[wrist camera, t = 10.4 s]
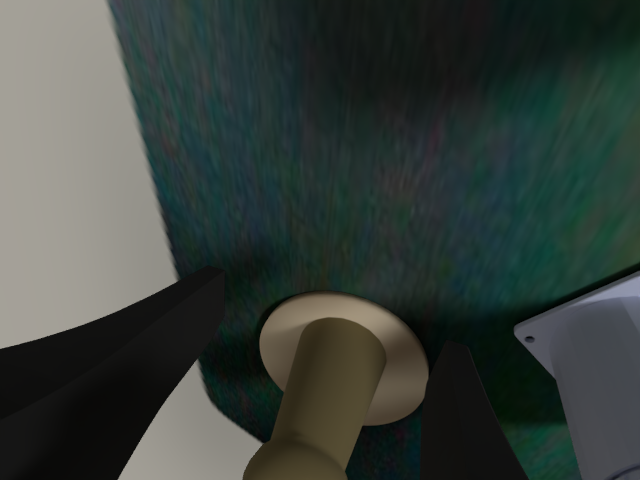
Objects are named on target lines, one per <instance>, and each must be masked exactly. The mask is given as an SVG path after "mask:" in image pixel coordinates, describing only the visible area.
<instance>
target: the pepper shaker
mask: <svg viewBox="0 0 640 480" xmlns="http://www.w3.org/2000/svg"><path fill="white" fill-rule="evenodd" d="M386 362H387V359H386V351H385V349H384V347H383V345H382V343H381V342H380V340H379V339H378V338H377V337H376V336H375V335H374V334H373V333H372V332H371V331H370V330H369V329H367V328H365V327H364V326H362V325H360V324H359V323H357V322H354V321H351V320H347V319H344V318H335V317H326V318H322V319H317V320H315V321H313V322H311V323H310V324H308V325H307V326H306V327H305V329H304V330H303V332H302V333H301V336H300V339H299V343H298V346H297V350H296V353H295V357H294V360H293V364H292V367H291V371H290V374H289V378H288V381H287V385H286V388H285V392H284V395H283V399H282V402H281V406H280V409H279V412H278V416H277V419H276V423H275V426H274V430H273V433H272V437H271V440H270V441H268V442H266V443H265V444H263V445H262V446H261V447H260V448H259V450H258V451H257V452H256V453H255V455H254V456H253V457H252V458H251V460H250V461H249V463H248V465H247V467H246V470H245V472H244V475H243V480H347V476H346V474H345V469H346V466H347V463H348V461H349V458H350V456H351V453H352V451H353V448H354V446H355V443H356V440H357V438H358V435H359V433H360V430H361V428H362V425H363V422H364V420H365V417H366V415H367V412H368V410H369V407H370V405H371V402H372V399H373V397H374V394H375V392H376V389H377V387H378V384H379V381H380V379H381V376H382V374H383V371H384V368H385V365H386Z"/></svg>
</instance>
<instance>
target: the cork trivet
mask: <svg viewBox="0 0 640 480" xmlns="http://www.w3.org/2000/svg"><path fill="white" fill-rule="evenodd" d="M326 317H335V318H344V319H347V320H351V321H354V322H357V323H359V324H360V325H362V326H364V327H365V328H367V329H369V330H370V331H371V332H372V333H373V334H374V335H375V336H376V337H377V338H378V339H379V340H380V342H381V343H382V345H383V347H384V349H385V351H386V359H387V362H386V365H385V368H384V371H383V374H382V376H381V379H380V381H379V384H378V387H377V389H376V392H375V394H374V397H373V399H372V402H371V405H370V407H369V410H368V412H367V415H366V417H365V420H364V422H363V425H367V426H370V425H381V424H387V423H391V422H394V421H397V420H399V419H402V418H404V417H406V416H407V415H409V414H410V413H412V412H413V411H414V410H415V409H416V408H417V407H418V406H419V405H420V403H421V402H422V400H423V398H424V395H425V389H426V383H427V381H428V375H429V366H428V359H427V356H426V353H425V350H424V348H423V346H422V344H421V342H420V341H419V339H418V338H417V336H416V335H415V333H414V332H413V331H412V330H411V329H410V328H409V326H408V325H407V324H406V323H404V322H403V321H402V320H401V319H400V318H399V317H398V316H396V315H395V314H393V313H392V312H391V311H389V310H388V309H386V308H384V307H382V306H381V305H379V304H377V303H375V302H372V301H370V300H368V299H365V298H362V297H359V296H356V295H353V294H348V293H343V292H336V291H313V292H307V293H303V294H299V295H296V296H294V297H291V298H289V299H287V300H286V301H284V302H282V303H281V304H280V305H279V306H277V307H276V308H275V309H274V311H273V312H272V313H271V314H270V316H269V318H268V319H267V321H266V323H265V325H264V327H263V329H262V332H261V335H260V353H261V357H262V360H263V363H264V366H265V368H266V370H267V371H268V373H269V375H270V376H271V378H272V379H273V381H274V382H275V383H276V384H277V385H278V387H279V388H280V389H281V390H282V391H283V392H285V388H286V385H287V381H288V378H289V374H290V371H291V367H292V364H293V360H294V357H295V353H296V350H297V346H298V343H299V339H300V336H301V333H302V332H303V330H304V329H305V327H306V326H307V325H308V324H310V323H311V322H313V321H315V320H317V319H322V318H326Z"/></svg>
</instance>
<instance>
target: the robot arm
mask: <svg viewBox="0 0 640 480" xmlns="http://www.w3.org/2000/svg"><path fill="white" fill-rule="evenodd" d="M224 308H225V271H224V270H221V269H218V268H215V267H211V266H206V267H204V268H202V269H200V270H198V271H197V272H195V273H193V274H191V275H189V276H187V277H185V278H184V279H182V280H180V281H178V282H176V283H174V284H172V285H170V286H169V287H167V288H165V289H163V290H161V291H159V292H157V293H155V294H153V295H151V296H149V297H147V298H145V299H143V300H141V301H139V302H136V303H134V304H132V305H130V306H128V307H126V308H123V309H121V310H119V311H117V312H115V313H112V314H110V315H107V316H105V317H103V318H100V319H97V320H95V321H92V322H89V323H87V324H84V325H81V326H78V327H75V328H72V329H69V330H66V331H63V332H60V333H57V334H54V335H50V336H47V337H44V338H41V339H37V340H33V341H30V342H26V343H22V344H19V345H15V346H10V347H6V348H2V349H0V480H118V478H119V476H120V474H121V472H122V471H123V469H124V467H125V466H126V464H127V462H128V460H129V459H130V457H131V455H132V454H133V452H134V450H135V449H136V447H137V445H138V443H139V442H140V440H141V438H142V437H143V435H144V433H145V432H146V430H147V429H148V427H149V425H150V424H151V422H152V421H153V419H154V417H155V416H156V414H157V413H158V411H159V409H160V408H161V406H162V405H163V404H164V402H165V401H166V399H167V398H168V397H169V395H170V394H171V393H172V391H173V390H174V389H175V387H176V386H177V385H178V383H179V382H180V381H181V380H182V378H183V377H184V376H185V374H186V373H187V372H188V370H189V369H190V368H191V366H192V365H193V364H194V362H195V361H196V360H197V358H198V357H199V356H200V354H201V353H202V352H203V350H204V349H205V348H206V346H207V345H208V344H209V342H210V341H211V339H212V337H213V336H214V334H215V332H216V331H217V329H218V327H219V325H220V323H221V322H222V320H223V318H224ZM514 334H515V336H516V337H517V338H518V340H519V341H520V342H521V343H522V344H523V345H524V346H525V347H526V348H527V349H528V350H529V351H530V352H531V354H532V355H533V356H534V357H535V358H536V359H537V360H538V361H539V362H540V363H541V364H542V365H543V366H544V368H545V369H546V370H547V371H548V372H549V373H550V374H551V375H552V376H553V377H554V378H555V379H556V382H557V386H558V390H559V393H560V397H561V401H562V405H563V409H564V413H565V416H566V420H567V424H568V428H569V432H570V435H571V439H572V443H573V447H574V451H575V454H576V458H577V462H578V466H579V470H580V473H581V477H582V480H640V271H638V272H635V273H633V274H631V275H629V276H626V277H624V278H622V279H619V280H617V281H615V282H612V283H610V284H608V285H606V286H603V287H601V288H599V289H596V290H594V291H592V292H590V293H587V294H585V295H583V296H580V297H578V298H576V299H574V300H571V301H569V302H567V303H564V304H562V305H560V306H558V307H555V308H553V309H551V310H548V311H546V312H544V313H541V314H539V315H537V316H535V317H532V318H530V319H528V320H525V321H523V322H521V323H519V324H517V325H515V327H514ZM527 336H532V338H525V337H527ZM420 480H529V478H528V477H527V475H526V473H525V472H524V470H523V468H522V466H521V465H520V463H519V461H518V459H517V457H516V455H515V453H514V452H513V450H512V448H511V446H510V444H509V442H508V440H507V438H506V436H505V434H504V432H503V430H502V428H501V426H500V424H499V421H498V419H497V417H496V415H495V413H494V410H493V408H492V406H491V404H490V401H489V399H488V397H487V394H486V392H485V390H484V387H483V385H482V382H481V380H480V377H479V374H478V372H477V369H476V367H475V364H474V361H473V358H472V355H471V353H470V350H469V348H468V346H466V345H463V344H459V343H456V342H453V341H450V340H447V339H446V341H445V343H444V346H443V348H442V350H441V352H440V354H439V357H438V359H437V361H436V363H435V365H434V368H433V370H432V372H431V374H430V376H429V378H428V381H427V383H426V389H425V395H424V402H423V410H422V421H421V459H420Z"/></svg>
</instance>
